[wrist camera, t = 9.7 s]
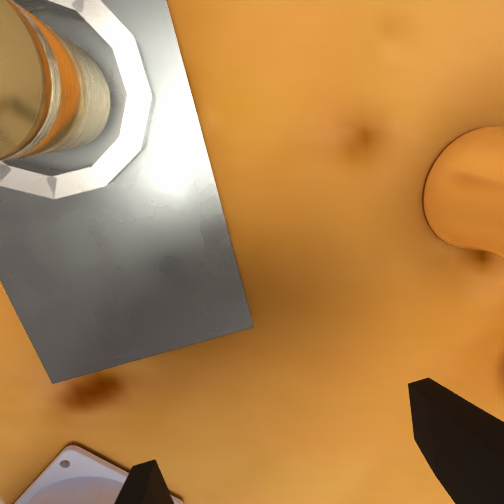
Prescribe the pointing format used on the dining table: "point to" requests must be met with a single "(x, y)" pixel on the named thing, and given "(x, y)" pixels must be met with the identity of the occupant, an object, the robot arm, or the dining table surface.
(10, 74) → the brass fitting
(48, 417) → the dining table surface
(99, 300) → the pipe plate
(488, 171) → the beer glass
